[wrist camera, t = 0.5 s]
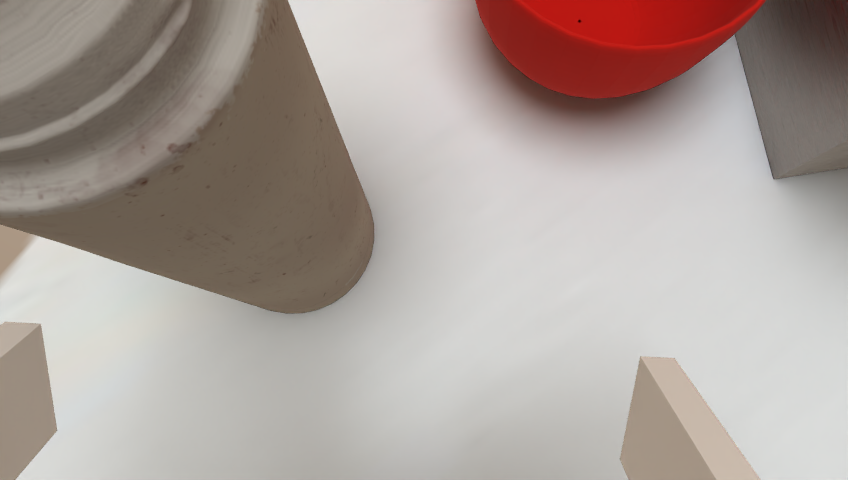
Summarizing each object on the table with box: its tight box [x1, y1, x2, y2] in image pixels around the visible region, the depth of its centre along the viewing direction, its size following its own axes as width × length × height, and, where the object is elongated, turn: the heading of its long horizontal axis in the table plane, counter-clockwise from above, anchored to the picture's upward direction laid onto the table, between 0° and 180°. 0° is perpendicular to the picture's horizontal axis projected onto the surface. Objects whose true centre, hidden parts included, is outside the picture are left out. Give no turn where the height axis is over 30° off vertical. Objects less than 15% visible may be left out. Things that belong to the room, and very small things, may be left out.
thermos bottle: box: [0, 0, 374, 313], centre depth 19 cm, size 8×8×28 cm
